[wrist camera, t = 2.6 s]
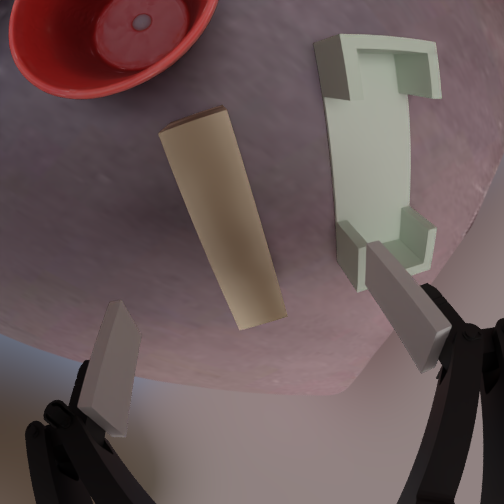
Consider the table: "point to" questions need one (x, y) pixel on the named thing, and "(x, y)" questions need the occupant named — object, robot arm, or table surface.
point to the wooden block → (224, 213)
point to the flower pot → (102, 42)
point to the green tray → (375, 145)
